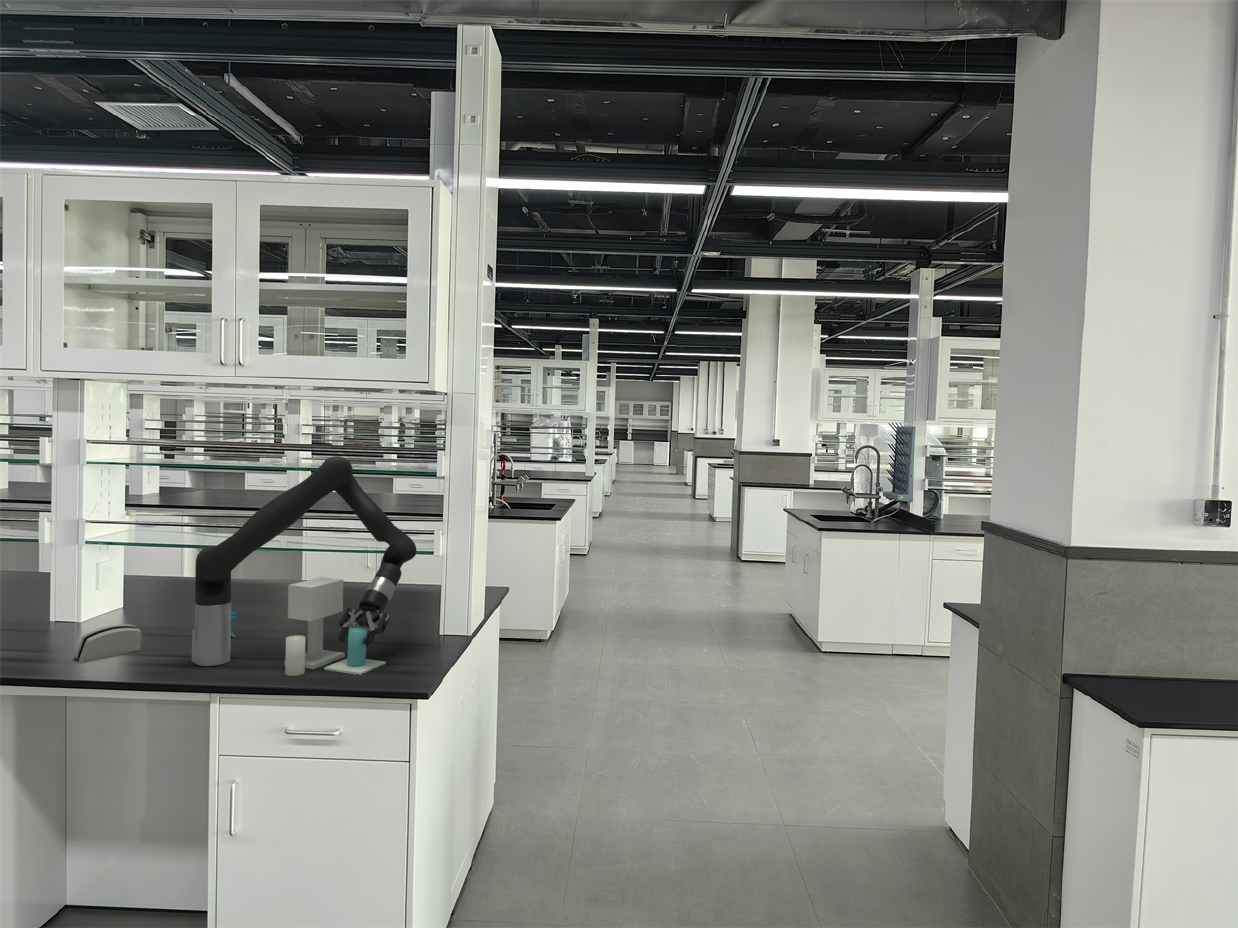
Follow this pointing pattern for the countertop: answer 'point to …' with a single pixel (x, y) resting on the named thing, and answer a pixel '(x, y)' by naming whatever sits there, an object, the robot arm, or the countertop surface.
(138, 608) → the countertop surface
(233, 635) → the gear
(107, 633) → the grey curved piece
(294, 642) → the cream part
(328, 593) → the mounted unit
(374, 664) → the mat
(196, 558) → the robot arm
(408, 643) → the countertop surface
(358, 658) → the teal part
